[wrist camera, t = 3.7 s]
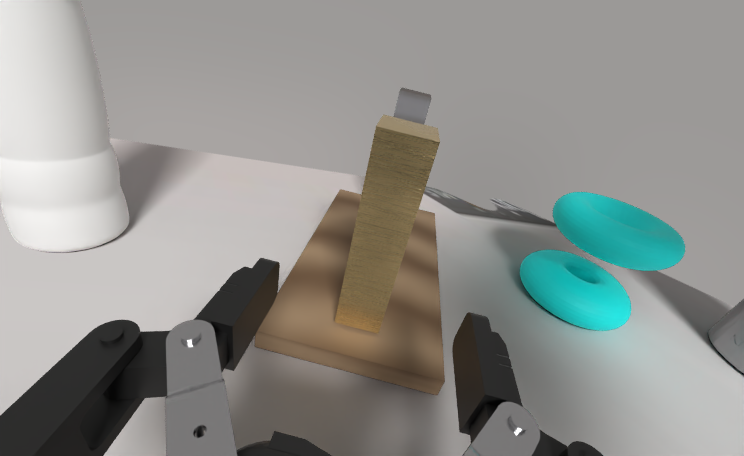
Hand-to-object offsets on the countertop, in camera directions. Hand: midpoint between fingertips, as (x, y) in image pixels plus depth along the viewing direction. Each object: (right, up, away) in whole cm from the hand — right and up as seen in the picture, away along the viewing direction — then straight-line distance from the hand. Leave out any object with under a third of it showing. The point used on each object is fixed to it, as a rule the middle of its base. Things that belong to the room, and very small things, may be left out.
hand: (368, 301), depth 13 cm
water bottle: (-24, +3, +13) cm, 27 cm away
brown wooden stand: (0, -1, +16) cm, 16 cm away
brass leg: (-1, -3, +9) cm, 10 cm away
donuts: (+20, -4, +19) cm, 28 cm away
